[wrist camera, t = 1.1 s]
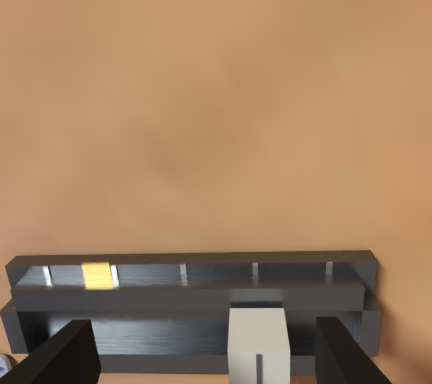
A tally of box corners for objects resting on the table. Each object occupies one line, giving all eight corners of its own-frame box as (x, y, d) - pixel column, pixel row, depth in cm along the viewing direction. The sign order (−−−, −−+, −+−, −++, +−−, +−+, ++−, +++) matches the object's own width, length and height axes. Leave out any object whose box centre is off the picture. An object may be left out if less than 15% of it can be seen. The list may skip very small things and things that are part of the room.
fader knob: (281, 345, 22) (289, 415, 18) (233, 345, 23) (231, 414, 18) (281, 291, 21) (290, 352, 17) (230, 291, 21) (227, 351, 17)
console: (360, 354, 24) (373, 388, 22) (42, 352, 26) (21, 383, 23) (370, 247, 21) (386, 272, 19) (15, 252, 23) (-12, 276, 21)
